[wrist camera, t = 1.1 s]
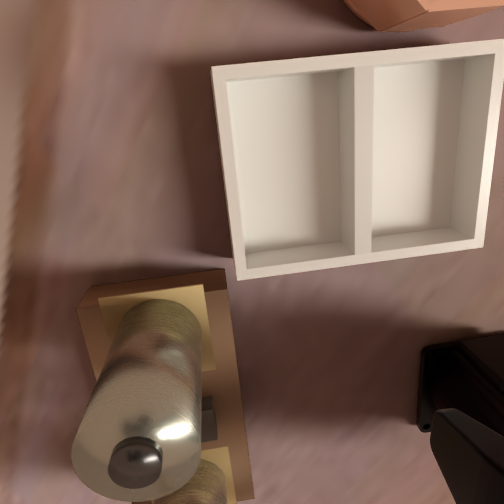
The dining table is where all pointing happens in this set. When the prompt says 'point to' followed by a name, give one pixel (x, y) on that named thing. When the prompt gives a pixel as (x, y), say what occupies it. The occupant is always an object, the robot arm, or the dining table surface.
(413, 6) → the cup
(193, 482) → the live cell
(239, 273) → the trough tray
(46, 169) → the dining table surface
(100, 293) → the cradle
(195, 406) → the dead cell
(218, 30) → the dining table surface
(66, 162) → the dining table surface
